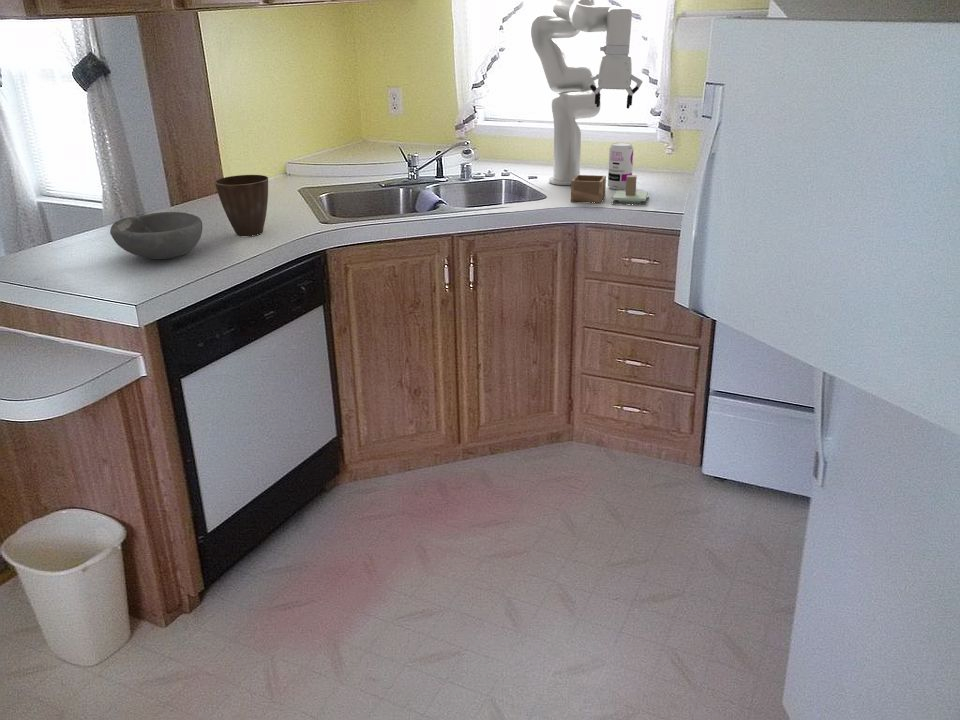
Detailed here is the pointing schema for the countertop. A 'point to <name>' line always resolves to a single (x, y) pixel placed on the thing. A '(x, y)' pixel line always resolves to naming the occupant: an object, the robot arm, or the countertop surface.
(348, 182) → the countertop surface
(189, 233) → the bowl
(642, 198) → the lid
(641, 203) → the coaster
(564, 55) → the robot arm
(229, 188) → the plant pot
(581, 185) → the tea box
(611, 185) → the supplement can
